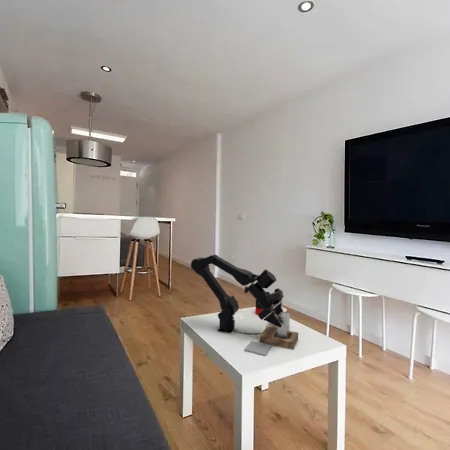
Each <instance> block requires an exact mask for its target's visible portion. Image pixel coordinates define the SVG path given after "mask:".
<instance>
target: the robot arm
mask: <svg viewBox="0 0 450 450" xmlns="http://www.w3.org/2000/svg"><path fill="white" fill-rule="evenodd" d="M211 264H212V265H213V266H215V267H217V268H218V269H220V270H222V271H223V272H226V273H227V274H228V275H230V276H232V277H233V278H234V280H235V281H236V282H238V284H240V285H241V286H243V287H244V286H245V287H244V294H248V293H250V295H252V297H253V298H254V300H255V304H256V303H259V304H260V305H261V306H262V311H261V312H260V313H259V315H258V318H259V319H260V320H263V321H265V322H268V323H269V322H270V323H272V324H274V325H276V326H278V327H282V325H281V323H280V322H279V320H278V319H277V317H276V316H275V314H277V315H279V314H280V312H283V309H282V307H283V306H282V304H283V302H282V301H283V298H284V294H283V293H284V291H282V289H280V288H279V287H278V288H275V289H274V292H272V293H270V292H269V291H266V290H267V289H269V288H270V287H271V286H272V285H273V284H274V283H275V282H277V277H276V276H275V275H274V273H272V272H271V271H270V270H268V269H263V271H262V272H261V273H260V274H254V273H253V272H252V271H250V270H247V269H245V268H240V267H237V266H236V265H234V264H232V263H231V262H229V261H227V260H225V259H223V258H221V257H220V256H218V255H217V254H211V255H210V256H207V257H197V258H194V259H192V260H191V263H190V268H191V270H193V271H194V273H196V274H197V275H199V276H200V277H202V279H203V280H204V281H205V283H206V284H207V286H208V288H210V290H211V291H212V293H213V294H214V296H215V297H216V298H217V301H218V302H219V306H220V309H221V311H220V312H219V313H218V314H217V316H218V317H217V318H218V319H219V328H218V329H217V331H218V332H223V333H230V334H232V332H233V331H234V330H235V328H236V320H235V315H236V313H238V311H239V308H240V305H239V301H238V300H237V299H236V298H235V296H234V295H232V296H230V295H229V294H227V292H226V291H225V290H224V288H223V287H222V286H221V284H220V283H219V281H218V280H217V279H216V277H215V276H214V275H213V272H211V269H210V265H211ZM265 289H266V290H265ZM256 300H257V301H256ZM283 313H284V312H283Z"/></svg>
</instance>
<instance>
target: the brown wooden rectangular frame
mask: <svg viewBox="0 0 450 450" xmlns="http://www.w3.org/2000/svg"><path fill="white" fill-rule="evenodd" d="M277 330H278V328H272V327H269V326H266V327H265V328H264V329H263V331H262V332H261V333H260V335H259V343H263V344H268V345H272V346H275V347H280V348H283V349H284V348H285V349H289V350H294V348H295V347H296V345H297V343H298V340H299V331H298V332H297V331H291V330H289V340H287V339H282V338H277Z"/></svg>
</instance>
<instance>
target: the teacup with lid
mask: <svg viewBox="0 0 450 450" xmlns="http://www.w3.org/2000/svg"><path fill="white" fill-rule="evenodd" d="M282 309H283V312H284V313H288V309H287V308H285V307H283V306H282ZM275 316H276V317H277V319H278V315H277V314H275ZM267 327H272V328H278V326H276V325H274V324H272V323H270V322H268V326H267Z"/></svg>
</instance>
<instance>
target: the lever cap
mask: <svg viewBox="0 0 450 450" xmlns="http://www.w3.org/2000/svg"><path fill="white" fill-rule="evenodd" d="M290 316H291V314H290V313H289V312H287V313H283V312H280V314H279V315H278V320H279V322H280V323H281V325H282V327H278V330H277V338H282V339H287V340H290V339H289V331H290V318H291V317H290Z"/></svg>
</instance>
